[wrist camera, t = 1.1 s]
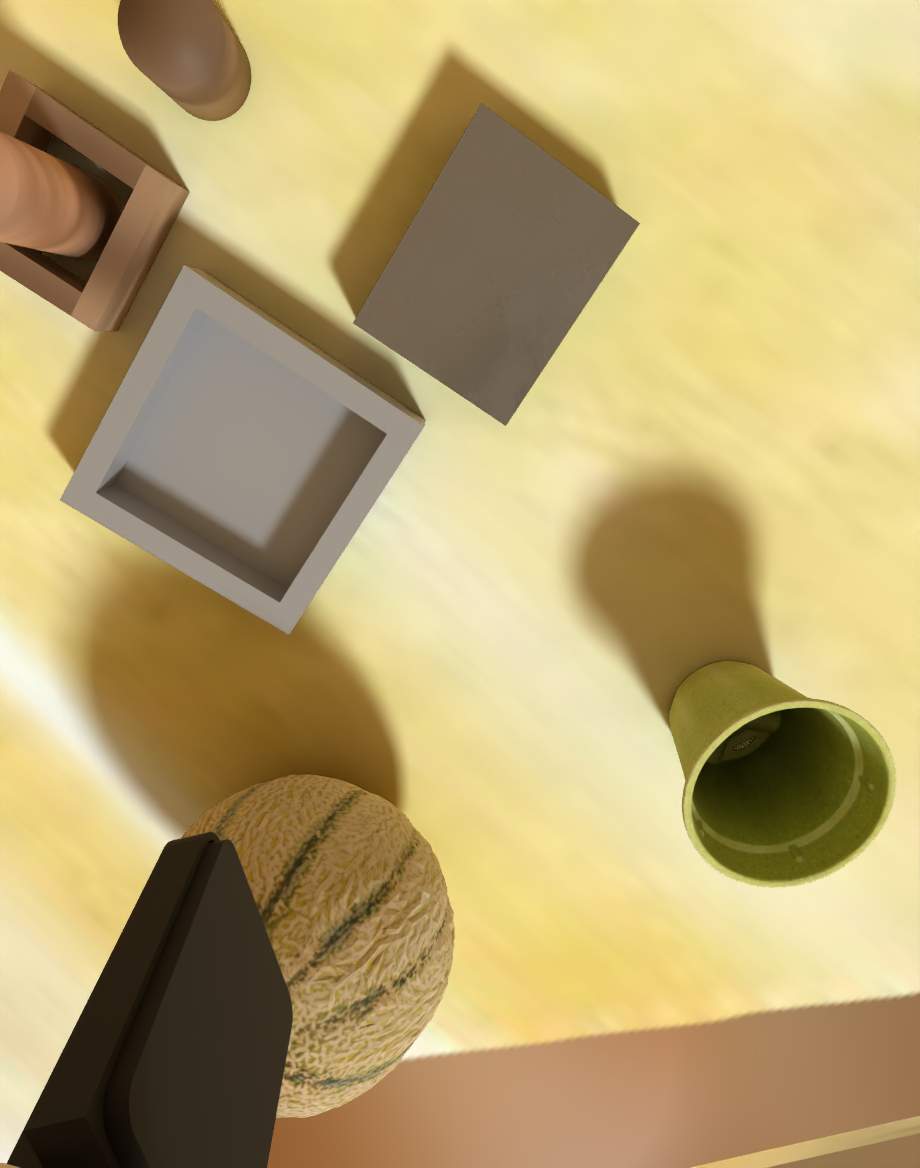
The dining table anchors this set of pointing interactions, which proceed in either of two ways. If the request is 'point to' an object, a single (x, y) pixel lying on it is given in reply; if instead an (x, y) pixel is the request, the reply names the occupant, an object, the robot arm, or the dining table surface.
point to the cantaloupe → (341, 927)
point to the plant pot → (776, 777)
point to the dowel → (53, 203)
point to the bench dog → (187, 54)
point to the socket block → (135, 233)
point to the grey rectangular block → (495, 267)
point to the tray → (240, 451)
